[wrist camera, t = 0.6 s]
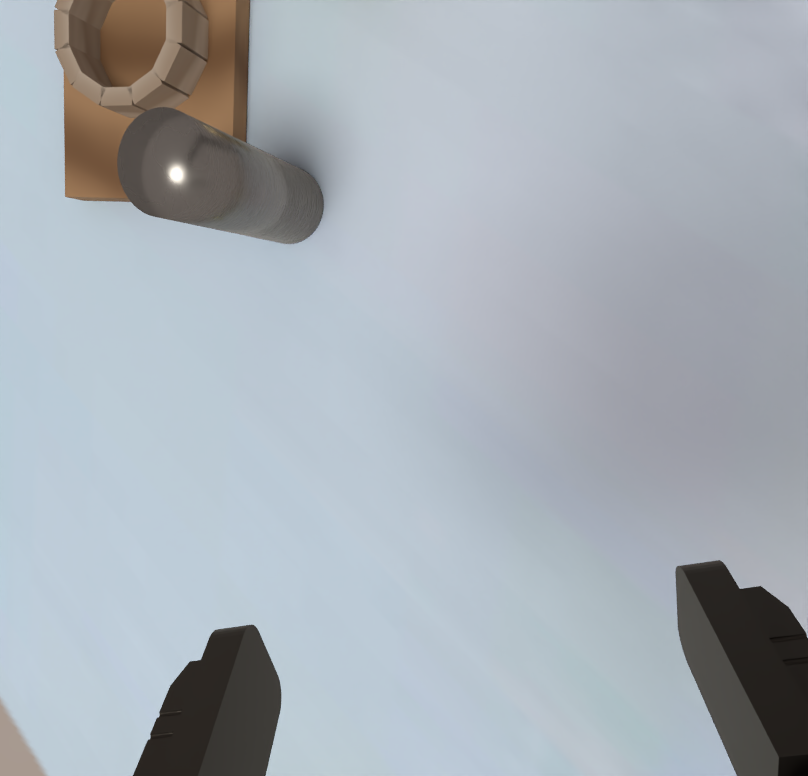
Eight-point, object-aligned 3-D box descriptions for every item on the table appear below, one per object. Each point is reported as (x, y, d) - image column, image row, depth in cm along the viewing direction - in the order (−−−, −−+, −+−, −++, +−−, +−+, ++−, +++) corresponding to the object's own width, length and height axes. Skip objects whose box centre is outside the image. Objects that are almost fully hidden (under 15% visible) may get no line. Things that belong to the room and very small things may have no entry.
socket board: (80, -97, 40) (26, -140, 36) (252, -118, 37) (214, -168, 33) (82, 200, 43) (32, 189, 39) (244, 204, 39) (207, 193, 36)
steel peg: (256, 166, 39) (117, 107, 27) (325, 167, 38) (209, 106, 26) (254, 242, 39) (117, 215, 28) (321, 245, 38) (207, 219, 27)
